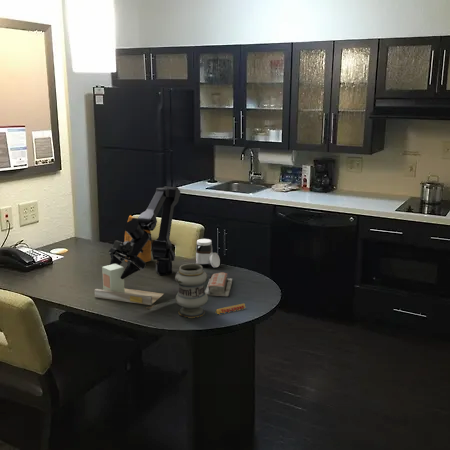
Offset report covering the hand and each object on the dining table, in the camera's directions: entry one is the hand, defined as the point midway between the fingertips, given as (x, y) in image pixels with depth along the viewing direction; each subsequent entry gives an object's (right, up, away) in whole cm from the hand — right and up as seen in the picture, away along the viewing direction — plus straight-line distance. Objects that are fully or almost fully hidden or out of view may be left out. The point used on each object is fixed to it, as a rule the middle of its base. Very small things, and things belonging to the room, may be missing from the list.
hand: (114, 275), depth 208 cm
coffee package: (+2, +2, +45) cm, 45 cm away
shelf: (+6, -9, 0) cm, 11 cm away
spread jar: (+36, +1, +40) cm, 54 cm away
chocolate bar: (+46, -13, -10) cm, 48 cm away
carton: (-1, -7, +1) cm, 7 cm away
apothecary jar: (+31, -13, -12) cm, 36 cm away
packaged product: (+41, -7, +12) cm, 43 cm away
